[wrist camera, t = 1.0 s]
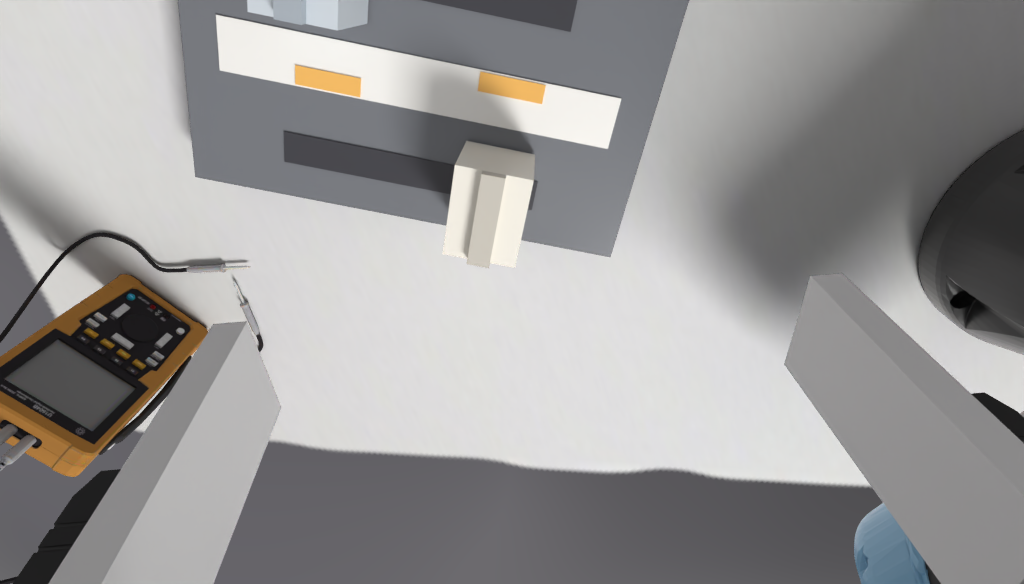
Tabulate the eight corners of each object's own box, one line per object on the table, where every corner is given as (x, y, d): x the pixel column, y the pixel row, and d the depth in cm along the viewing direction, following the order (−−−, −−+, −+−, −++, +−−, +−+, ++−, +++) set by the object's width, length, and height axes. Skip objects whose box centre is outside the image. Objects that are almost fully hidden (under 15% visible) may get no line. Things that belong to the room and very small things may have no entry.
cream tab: (535, 154, 32) (533, 184, 27) (518, 233, 34) (514, 273, 30) (466, 140, 32) (453, 168, 27) (454, 220, 34) (440, 259, 29)
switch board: (687, -30, 29) (699, -31, 27) (606, 241, 37) (610, 258, 35) (192, -139, 28) (161, -150, 26) (216, 165, 36) (193, 177, 34)
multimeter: (306, 305, 41) (130, 545, 23) (235, 378, 45) (38, 631, 27) (123, 164, 36) (-266, 332, 19) (61, 258, 40) (-312, 471, 23)
